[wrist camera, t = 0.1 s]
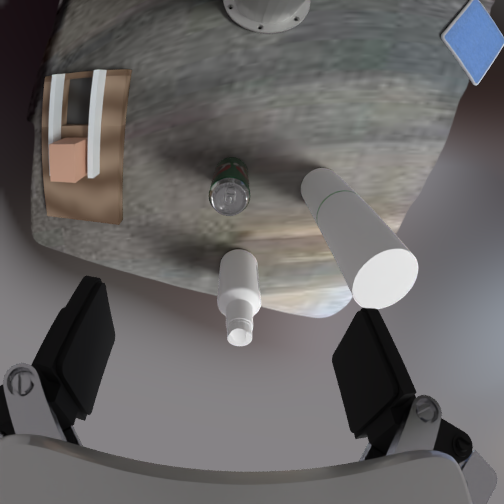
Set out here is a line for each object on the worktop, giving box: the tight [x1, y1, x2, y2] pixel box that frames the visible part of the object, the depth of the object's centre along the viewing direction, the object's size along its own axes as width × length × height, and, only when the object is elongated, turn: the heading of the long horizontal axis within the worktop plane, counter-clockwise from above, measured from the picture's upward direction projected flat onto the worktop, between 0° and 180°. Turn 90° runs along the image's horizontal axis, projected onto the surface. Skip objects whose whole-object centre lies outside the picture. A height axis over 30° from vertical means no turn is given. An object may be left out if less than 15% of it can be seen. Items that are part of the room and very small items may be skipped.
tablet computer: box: [441, 0, 504, 85], centre depth 28 cm, size 19×13×1 cm, turn 144°
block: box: [49, 137, 88, 183], centre depth 36 cm, size 6×5×5 cm
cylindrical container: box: [301, 168, 418, 309], centre depth 35 cm, size 7×7×25 cm
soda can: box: [209, 157, 250, 216], centre depth 39 cm, size 5×5×12 cm
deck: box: [42, 69, 132, 225], centre depth 38 cm, size 26×16×2 cm, turn 169°
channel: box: [48, 70, 107, 178], centre depth 34 cm, size 17×9×2 cm, turn 169°
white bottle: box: [217, 249, 261, 346], centre depth 45 cm, size 7×7×18 cm
